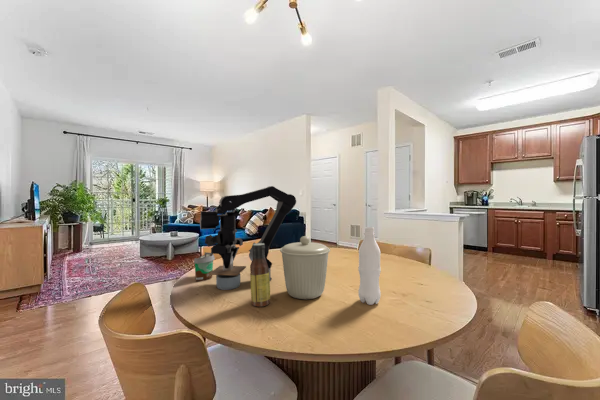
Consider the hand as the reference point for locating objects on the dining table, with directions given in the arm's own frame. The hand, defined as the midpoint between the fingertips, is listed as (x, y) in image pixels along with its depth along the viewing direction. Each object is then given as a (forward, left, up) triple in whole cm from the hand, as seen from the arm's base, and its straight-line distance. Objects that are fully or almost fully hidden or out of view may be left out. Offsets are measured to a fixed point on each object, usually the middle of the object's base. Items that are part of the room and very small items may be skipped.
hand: (228, 267), depth 107 cm
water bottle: (-53, +11, -8) cm, 55 cm away
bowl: (0, 0, -8) cm, 8 cm away
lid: (0, 0, -2) cm, 2 cm away
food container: (+13, -9, -8) cm, 18 cm away
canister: (-31, +6, -8) cm, 32 cm away
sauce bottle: (-17, +16, -8) cm, 25 cm away
